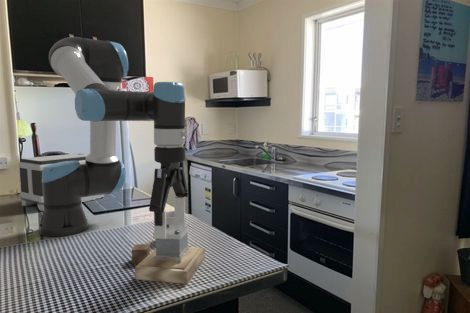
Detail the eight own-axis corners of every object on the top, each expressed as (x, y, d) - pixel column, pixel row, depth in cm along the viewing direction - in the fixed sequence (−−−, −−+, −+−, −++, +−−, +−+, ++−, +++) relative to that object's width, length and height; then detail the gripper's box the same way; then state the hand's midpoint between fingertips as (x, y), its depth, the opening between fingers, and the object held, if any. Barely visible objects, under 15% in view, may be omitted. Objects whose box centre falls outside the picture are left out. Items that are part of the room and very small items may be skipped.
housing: (180, 262, 86) (180, 233, 85) (153, 260, 87) (153, 231, 86) (189, 251, 93) (189, 224, 92) (164, 249, 94) (164, 223, 93)
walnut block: (132, 264, 93) (131, 249, 93) (135, 258, 97) (134, 244, 96) (147, 264, 93) (147, 249, 93) (149, 258, 97) (149, 244, 97)
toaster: (112, 196, 172) (110, 154, 170) (42, 212, 144) (38, 161, 142) (89, 192, 183) (87, 152, 180) (20, 206, 154) (16, 158, 152)
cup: (163, 231, 119) (163, 208, 118) (187, 231, 120) (187, 208, 119) (159, 243, 109) (159, 217, 108) (185, 242, 109) (185, 217, 108)
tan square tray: (135, 279, 84) (135, 266, 84) (160, 255, 99) (159, 243, 98) (187, 283, 82) (187, 270, 81) (204, 258, 96) (204, 247, 96)
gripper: (165, 151, 74) (166, 248, 77) (198, 142, 98) (198, 215, 101) (132, 150, 75) (134, 245, 78) (173, 141, 100) (174, 214, 102)
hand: (170, 228), depth 89 cm, fingers open, 13 cm apart
